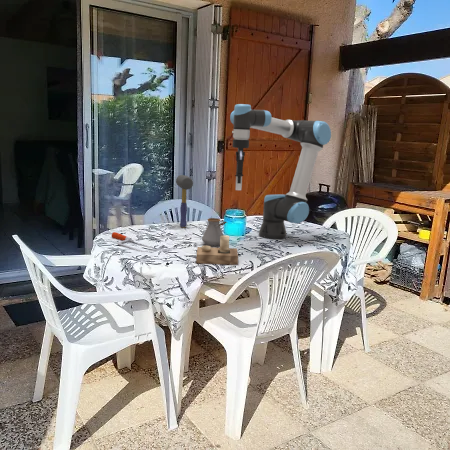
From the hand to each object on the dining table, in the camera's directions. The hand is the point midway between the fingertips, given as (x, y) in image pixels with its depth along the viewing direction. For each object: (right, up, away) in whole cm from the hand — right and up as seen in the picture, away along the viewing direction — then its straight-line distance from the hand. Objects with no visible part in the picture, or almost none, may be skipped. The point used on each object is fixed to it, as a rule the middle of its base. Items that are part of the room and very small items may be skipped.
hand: (238, 190), depth 216 cm
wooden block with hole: (-10, -32, -10) cm, 35 cm away
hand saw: (-53, -27, +9) cm, 60 cm away
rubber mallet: (-30, -18, +48) cm, 60 cm away
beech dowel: (-7, -32, -10) cm, 34 cm away
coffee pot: (-10, -27, +11) cm, 31 cm away
